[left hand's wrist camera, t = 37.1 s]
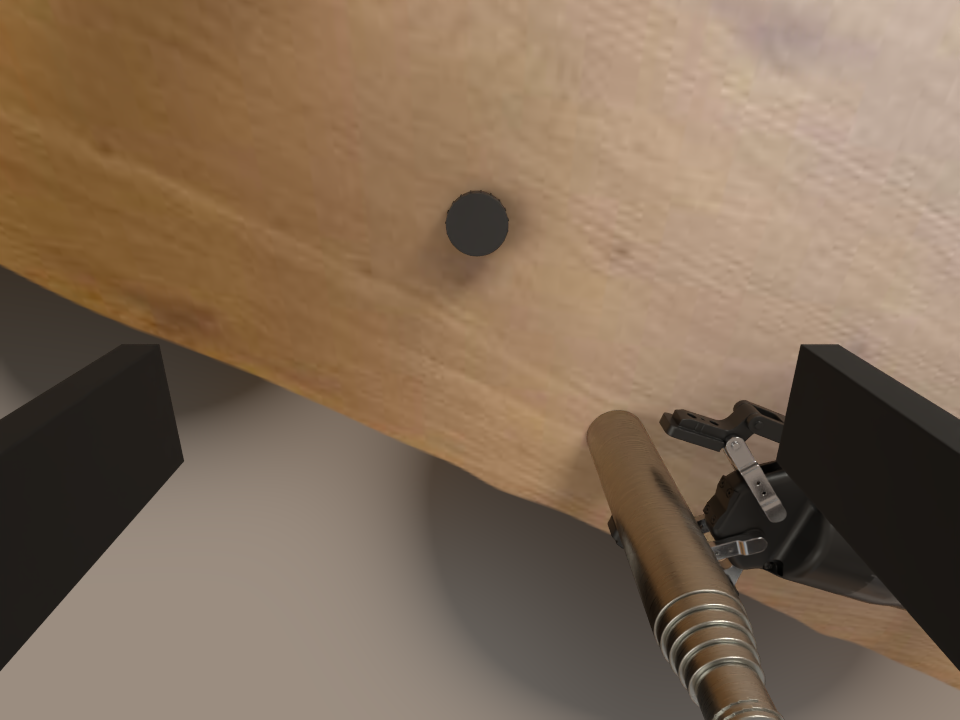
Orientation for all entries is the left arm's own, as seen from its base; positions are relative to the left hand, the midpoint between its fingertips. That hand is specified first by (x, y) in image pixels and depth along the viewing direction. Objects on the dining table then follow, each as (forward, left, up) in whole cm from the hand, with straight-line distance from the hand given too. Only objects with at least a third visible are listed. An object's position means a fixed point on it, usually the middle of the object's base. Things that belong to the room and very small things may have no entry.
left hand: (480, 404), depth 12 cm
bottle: (+18, -7, -29) cm, 35 cm away
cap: (0, 0, -28) cm, 28 cm away
